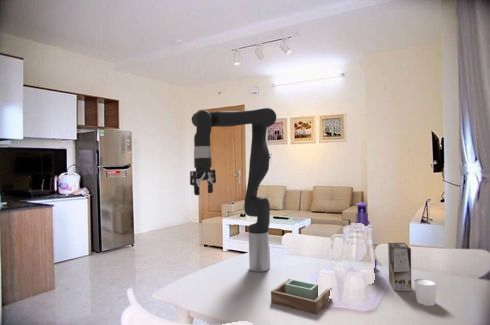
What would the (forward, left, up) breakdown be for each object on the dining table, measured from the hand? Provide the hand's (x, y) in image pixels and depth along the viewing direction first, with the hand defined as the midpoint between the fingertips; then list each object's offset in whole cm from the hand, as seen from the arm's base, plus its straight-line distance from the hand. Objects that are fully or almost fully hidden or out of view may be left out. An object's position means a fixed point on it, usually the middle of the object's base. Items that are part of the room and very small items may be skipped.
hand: (203, 194), depth 145 cm
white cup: (-20, +83, -36) cm, 93 cm away
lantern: (-45, +55, -36) cm, 80 cm away
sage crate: (+1, +46, -35) cm, 58 cm away
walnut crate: (+1, +46, -36) cm, 58 cm away
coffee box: (-30, +73, -36) cm, 87 cm away
